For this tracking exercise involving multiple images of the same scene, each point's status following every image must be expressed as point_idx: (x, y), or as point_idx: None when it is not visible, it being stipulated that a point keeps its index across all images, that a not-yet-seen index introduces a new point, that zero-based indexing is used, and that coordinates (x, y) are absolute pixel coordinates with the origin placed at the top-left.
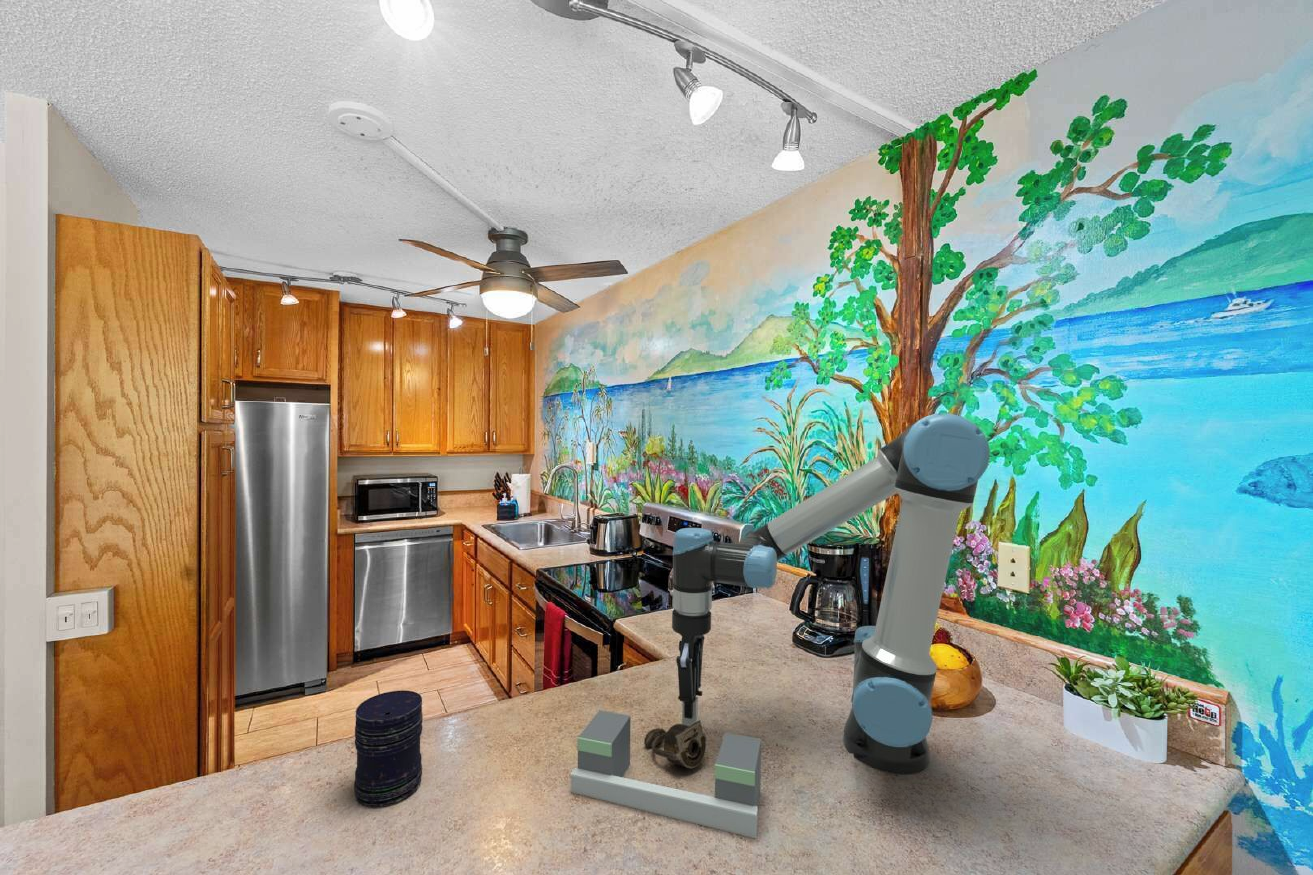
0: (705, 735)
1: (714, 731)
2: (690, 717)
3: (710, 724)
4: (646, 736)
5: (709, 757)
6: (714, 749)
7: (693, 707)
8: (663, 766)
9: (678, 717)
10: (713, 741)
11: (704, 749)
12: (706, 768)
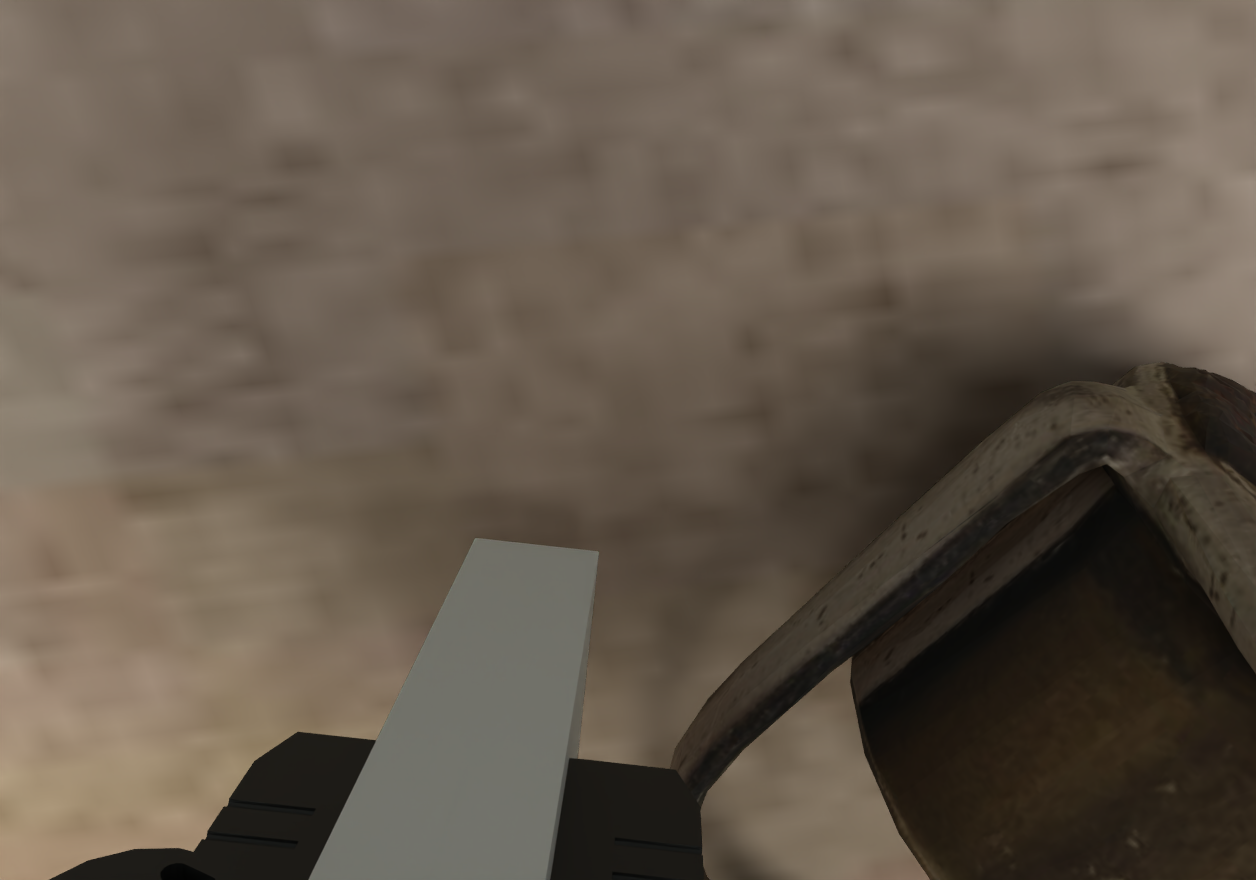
0: (1106, 419)
1: (194, 268)
2: (684, 809)
3: (28, 346)
4: None
5: (868, 276)
6: (659, 223)
7: (548, 878)
8: None
9: (24, 787)
10: (460, 258)
11: (1220, 378)
12: (1130, 292)
